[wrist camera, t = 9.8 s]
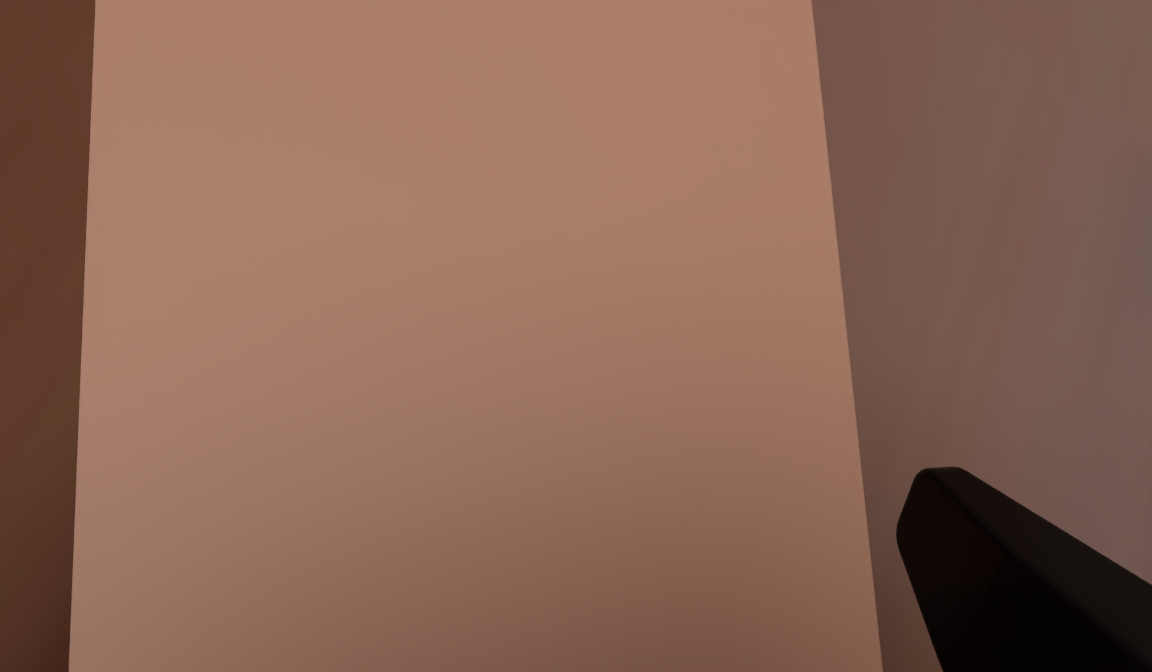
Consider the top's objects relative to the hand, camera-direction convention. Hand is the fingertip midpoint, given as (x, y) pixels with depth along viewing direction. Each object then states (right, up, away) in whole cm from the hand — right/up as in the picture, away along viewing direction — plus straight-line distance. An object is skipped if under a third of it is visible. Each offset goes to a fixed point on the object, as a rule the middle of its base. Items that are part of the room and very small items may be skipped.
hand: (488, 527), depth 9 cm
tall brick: (-2, 0, +8) cm, 8 cm away
